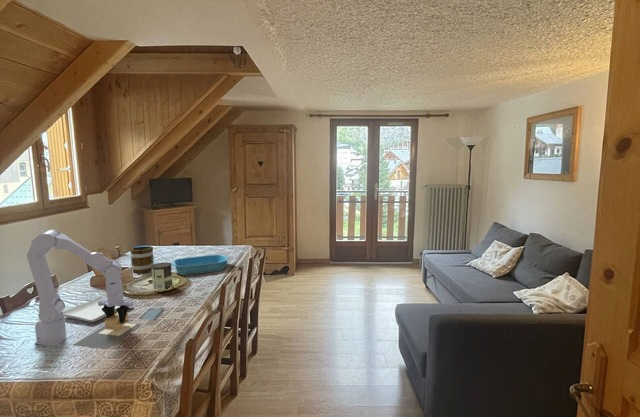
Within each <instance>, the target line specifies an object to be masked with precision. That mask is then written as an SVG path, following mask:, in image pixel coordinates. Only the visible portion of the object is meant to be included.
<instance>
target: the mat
mask: <svg viewBox="0 0 640 417" xmlns="http://www.w3.org/2000/svg"><path fill="white" fill-rule="evenodd" d="M142 325H143V324H141V323H130V322H127V323H125V324H124V325H122V326H121V327H119V328H118V329H116V330H107V329H106V328H105V325H104V326H102V327H101V328H99V329H97V330H95V331H94V332H92V333H90V334H89V335H87V336H85V337H84V338H82V339H80V340H79V341H77V342H75V343H74V344H72V346H75V347H76V346H77V347H86V348H95V349H103V350H104V349H105V350H106V349H108V348H109V347H111V346H112V345H114V344H116V343H118V342H119V341H120V340H122V339H123V338H125V337H126V336H127V335H130V333H132V332H134V331H135V330H136V329H138V328H140V326H142Z"/></svg>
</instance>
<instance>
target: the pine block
mask: <svg viewBox="0 0 640 417" xmlns="http://www.w3.org/2000/svg"><path fill="white" fill-rule="evenodd" d="M129 322H130V320H129V312H128V311H127V314H126V318H125V322H124V323H122V324H121V323H120V320H119V315H118V312H116V313H114V315H113V316H111V317H109V318H105V320H104V326H105V328H106V329H107V330H116V329H118V328H119V327H121V326H122V325H124V324H125V323H129Z"/></svg>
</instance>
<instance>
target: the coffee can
mask: <svg viewBox="0 0 640 417" xmlns="http://www.w3.org/2000/svg"><path fill="white" fill-rule="evenodd" d="M151 268H152V271H151V277H152V278H151V279H152V280H151V281H152V290H153V289H156V290H162V289H168V288H170V287H172V285H173V272H172V271H173V270H172V269H173V268H172V265H171V262H167V261H166V262H165V261H164V262H157V263H154V265H152V266H151Z"/></svg>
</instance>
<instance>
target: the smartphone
mask: <svg viewBox="0 0 640 417" xmlns="http://www.w3.org/2000/svg"><path fill="white" fill-rule="evenodd" d="M164 310H165V308H164V307H163V308H162V307H160V308H156V307H155V308H148V309H147V310H146V312H144V313H143V314H142V316H140V317H139V320H146V321H156V320H157V318H158V317H159V316H160V315H161V314H162V313H163V312H164Z"/></svg>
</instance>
